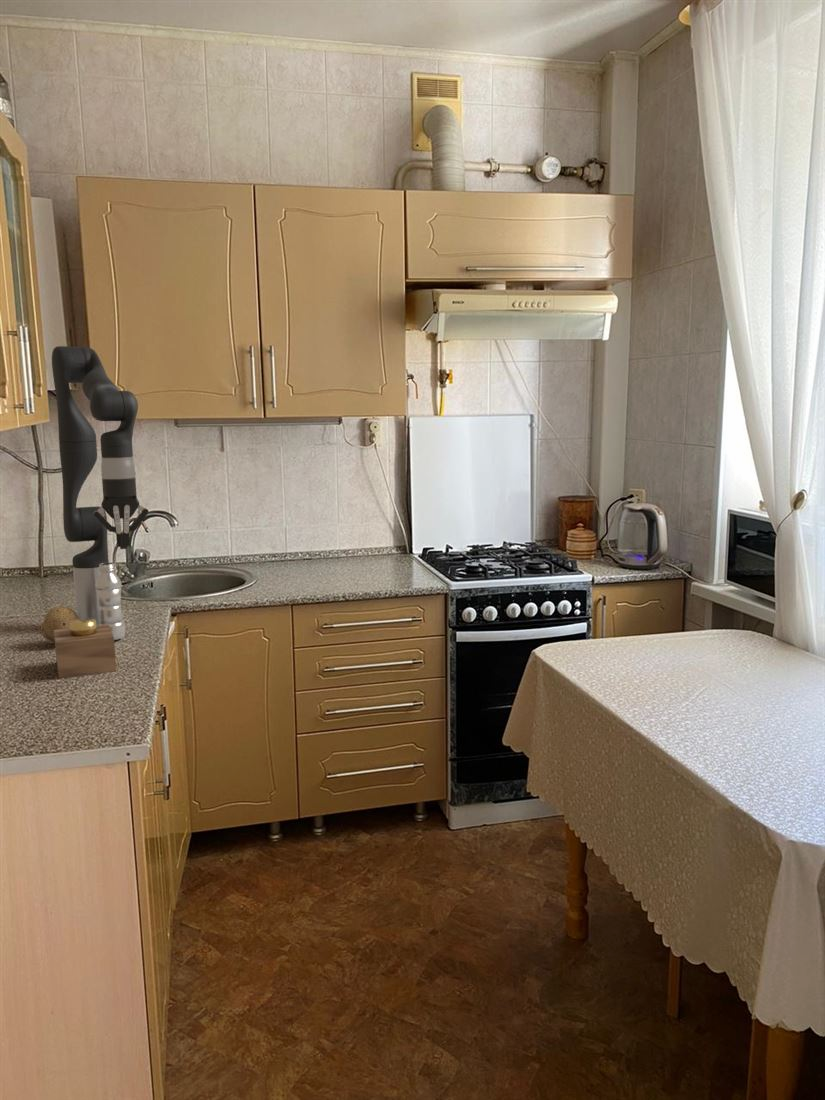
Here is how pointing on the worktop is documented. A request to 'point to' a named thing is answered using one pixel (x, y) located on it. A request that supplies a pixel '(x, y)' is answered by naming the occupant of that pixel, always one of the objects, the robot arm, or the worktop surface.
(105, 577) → the plastic bottle
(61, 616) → the natural sponge
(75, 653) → the block
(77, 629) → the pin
